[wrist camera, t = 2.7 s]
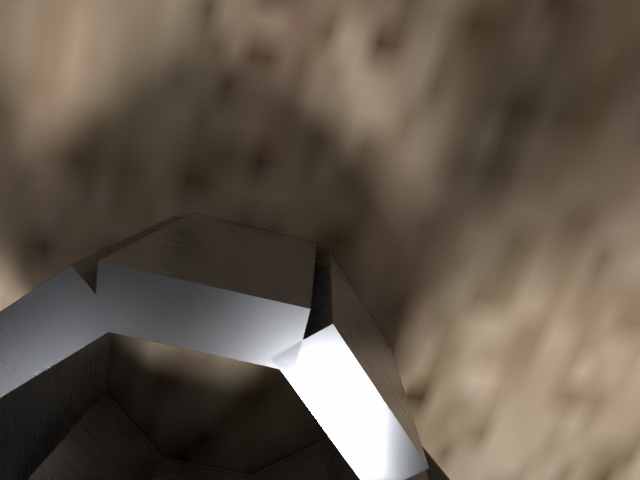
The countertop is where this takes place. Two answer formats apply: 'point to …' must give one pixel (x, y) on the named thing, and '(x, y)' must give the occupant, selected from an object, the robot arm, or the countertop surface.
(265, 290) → the hollow octagonal tube
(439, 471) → the robot arm
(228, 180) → the countertop surface
